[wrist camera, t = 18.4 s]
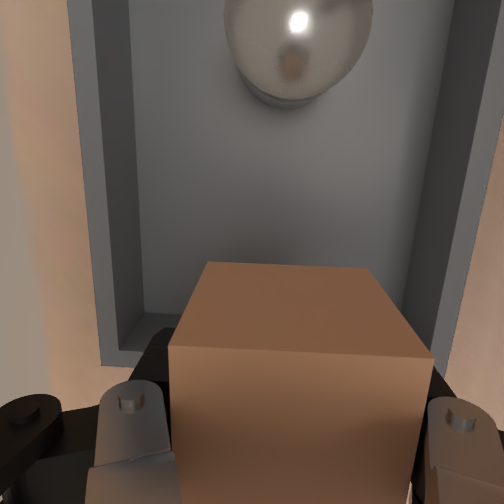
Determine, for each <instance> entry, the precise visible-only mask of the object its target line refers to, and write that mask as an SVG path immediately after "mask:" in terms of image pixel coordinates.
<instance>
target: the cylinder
mask: <svg viewBox="0 0 504 504" xmlns="http://www.w3.org/2000/svg"><path fill="white" fill-rule="evenodd" d="M223 17H224V30H225V37H226V40H227V44H228V47H229V50H230V52H231V55H232V57H233V59H234V61H235V63H236V65H237V67H238V69H239V71H240V73H241V76H242V78H243V80H244V82H245V84H246V85H247V87H248V89H249V90H250V91H251V92H252V94H253V95H254V96H255V97H256V98H258V99H259V100H260V101H261V102H263V103H265V104H267V105H269V106H272V107H275V108H279V109H293V108H298V107H301V106H304V105H306V104H308V103H310V102H311V101H313V100H314V99H316V98H317V97H319V96H320V95H322V94H323V93H324V92H326V91H327V90H329V89H330V88H331V87H333V86H334V85H336V84H337V83H338V82H339V81H341V80H342V79H343V78H344V77H345V76H346V75H347V74H348V73H349V72H350V71H351V70H352V68H353V67H354V66H355V64H356V63H357V62H358V60H359V58H360V56H361V55H362V53H363V51H364V49H365V46H366V44H367V41H368V38H369V35H370V31H371V25H372V18H373V0H225V3H224V15H223Z"/></svg>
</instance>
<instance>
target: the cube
mask: <svg viewBox="0 0 504 504" xmlns="http://www.w3.org/2000/svg"><path fill="white" fill-rule="evenodd" d="M168 358H169V385H170V412H171V439H172V450H174V454H175V460H176V466H177V473H178V479H179V485H180V492H181V498H182V504H406V500H407V495H408V490H409V485H410V480H411V475H412V470H413V465H414V460H415V455H416V450H417V445H418V440H419V435H420V430H421V425H422V420H423V415H424V410H425V405H426V400H427V395H428V390H429V385H430V380H431V375H432V370H433V365H434V360H435V358H434V357H433V356H432V354H431V353H430V352H429V350H428V349H427V348H426V346H425V345H424V344H423V342H422V341H421V340H420V338H419V337H418V336H417V334H416V333H415V331H414V330H413V329H412V327H411V326H410V325H409V323H408V322H407V321H406V319H405V318H404V317H403V315H402V314H401V313H400V311H399V310H398V309H397V307H396V306H395V304H394V303H393V302H392V300H391V299H390V298H389V296H388V295H387V294H386V292H385V291H384V290H383V288H382V287H381V286H380V284H379V283H378V282H377V280H376V279H375V278H374V276H373V275H372V273H371V272H370V271H369V269H368V268H347V267H324V266H301V265H279V264H256V263H233V262H211V261H208V262H207V264H206V266H205V268H204V271H203V273H202V275H201V277H200V279H199V281H198V283H197V285H196V287H195V290H194V292H193V294H192V296H191V298H190V300H189V302H188V304H187V306H186V308H185V311H184V313H183V315H182V317H181V319H180V321H179V323H178V325H177V327H176V330H175V332H174V334H173V336H172V338H171V340H170V342H169V344H168Z"/></svg>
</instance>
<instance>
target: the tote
mask: <svg viewBox="0 0 504 504" xmlns="http://www.w3.org/2000/svg"><path fill="white" fill-rule="evenodd" d="M224 3H225V0H67V7H68V17H69V28H70V39H71V49H72V60H73V70H74V81H75V92H76V102H77V113H78V123H79V134H80V145H81V155H82V166H83V177H84V187H85V198H86V208H87V219H88V230H89V240H90V251H91V261H92V272H93V283H94V293H95V304H96V314H97V325H98V336H99V346H100V357H101V366H114V367H132V368H135V367H136V365H137V363H138V362H139V360H140V358H141V356H142V355H143V353H144V351H145V349H146V348H147V347H148V344H149V342H150V341H151V339H152V337H153V335H155V334H156V333H157V332H159V331H160V330H162V329H163V328H165V327H170V328H176V326H177V324H178V322H179V320H180V317H181V315H182V313H184V311H185V308H186V306H187V304H188V302H189V300H190V298H191V296H192V294H193V292H194V290H195V287H196V285H197V283H198V281H199V279H200V277H201V275H202V273H203V271H204V268H205V266H206V264H207V262H208V261H211V262H233V263H256V264H279V265H301V266H324V267H347V268H368V269H369V271H370V272H371V273H372V275H373V276H374V278H375V279H376V280H377V282H378V283H379V284H380V286H381V287H382V288H383V290H384V291H385V292H386V294H387V295H388V296H389V298H390V299H391V300H392V302H393V303H394V304H395V306H396V307H397V309H398V310H399V311H400V313H401V314H402V315H403V317H404V318H405V319H406V321H407V322H408V323H409V325H410V326H411V327H412V329H413V330H414V331H415V333H416V334H417V336H418V337H419V338H420V340H421V341H422V342H423V344H424V345H425V346H426V348H427V349H428V350H429V352H430V353H431V354H432V356H433V357H434V358H435V360H434V366H435V368H436V369H437V372H439V373H440V375H441V376H442V377H443V379H444V378H445V373H446V369H447V364H448V360H449V355H450V351H451V346H452V342H453V337H454V333H455V328H456V324H457V319H458V315H459V310H460V306H461V301H462V297H463V292H464V288H465V283H466V279H467V274H468V270H469V265H470V261H471V256H472V252H473V247H474V243H475V238H476V234H477V230H478V225H479V221H480V216H481V212H482V207H483V203H484V198H485V194H486V189H487V185H488V180H489V176H490V171H491V167H492V162H493V158H494V153H495V149H496V144H497V140H498V135H499V131H500V126H501V122H502V117H503V113H504V0H373V18H372V25H371V31H370V35H369V38H368V41H367V44H366V46H365V49H364V51H363V53H362V55H361V56H360V58H359V60H358V62H357V63H356V64H355V66H354V67H353V68H352V70H351V71H350V72H349V73H348V74H347V75H346V76H345V77H344V78H343V79H342V80H341V81H339V82H338V83H337V84H336V85H334V86H333V87H331V88H330V89H329V90H327V91H326V92H324V93H323V94H322V95H320V96H319V97H317V98H316V99H314V100H313V101H311V102H310V103H308V104H306V105H304V106H301V107H298V108H293V109H279V108H275V107H272V106H269V105H267V104H265V103H263V102H261V101H260V100H259V99H258V98H256V97H255V96H254V95H253V94H252V92H251V91H250V90H249V89H248V87H247V85H246V84H245V82H244V80H243V78H242V76H241V73H240V71H239V69H238V67H237V65H236V63H235V61H234V59H233V57H232V55H231V52H230V50H229V47H228V44H227V40H226V37H225V30H224V17H223V15H224Z"/></svg>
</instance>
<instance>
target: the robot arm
mask: <svg viewBox="0 0 504 504" xmlns="http://www.w3.org/2000/svg"><path fill="white" fill-rule="evenodd" d="M182 315H183V313H182ZM182 315H181V317H182ZM181 317H180V319H181ZM179 321H180V320H179ZM178 323H179V322H178ZM177 325H178V324H177ZM176 327H177V326H176ZM175 330H176V328H170V327H165V328H163V329H162V330H160V331H159V332H157V333H156V334H155V335H153V337H152V339H151V341H150V342H149V344H148V347H147V348H146V349H145V351H144V353H143V355H142V356H141V358H140V360H139V362H138V363H137V365H136V367H135V369H134V370H133V372H132V374H131V376H130V378H129V379H128V381H126V382H122V383H120V384H117V385H115V386H113V387H112V388H110V389H109V390H108V391H107V392H105V393H104V395H103V396H102V398H101V400H100V404H99V405H96V406H92V407H88V408H82V409H76V410H70V411H64V412H62V408H61V403H60V401H59V400H58V399H57V398H56V397H54V396H52V395H47V394H33V395H28V396H24V397H21V398H18V399H15V400H13V401H11V402H9V403H7V404H5V405H3V406H2V407H1V408H0V496H1V495H2V498H3V500H2V501H1V502H0V504H182V498H181V492H180V485H179V479H178V473H177V466H176V460H175V454H174V450H172V439H171V412H170V385H169V358H168V344H169V342H170V340H171V338H172V336H173V334H174V332H175ZM410 481H411V483H412V485H411V490H410V495H409V504H504V431H501V430H498V429H497V426H496V424H495V422H494V420H493V419H492V418H491V416H490V415H489V414H487V413H486V412H485V411H484V410H482V409H481V408H480V407H478V406H476V405H474V404H472V403H470V402H468V401H465V400H462V399H459V398H457V397H456V396H455V394H454V393H453V391H452V390H451V389H450V387H449V386H448V384H447V383H446V382H445V380H444V379H443V377H442V376H441V375H440V373H439V372H437V369H436V368H435V366H434V365H433V370H432V375H431V380H430V385H429V390H428V395H427V400H426V405H425V410H424V415H423V420H422V425H421V430H420V435H419V440H418V445H417V450H416V455H415V460H414V465H413V470H412V475H411V480H410Z"/></svg>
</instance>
